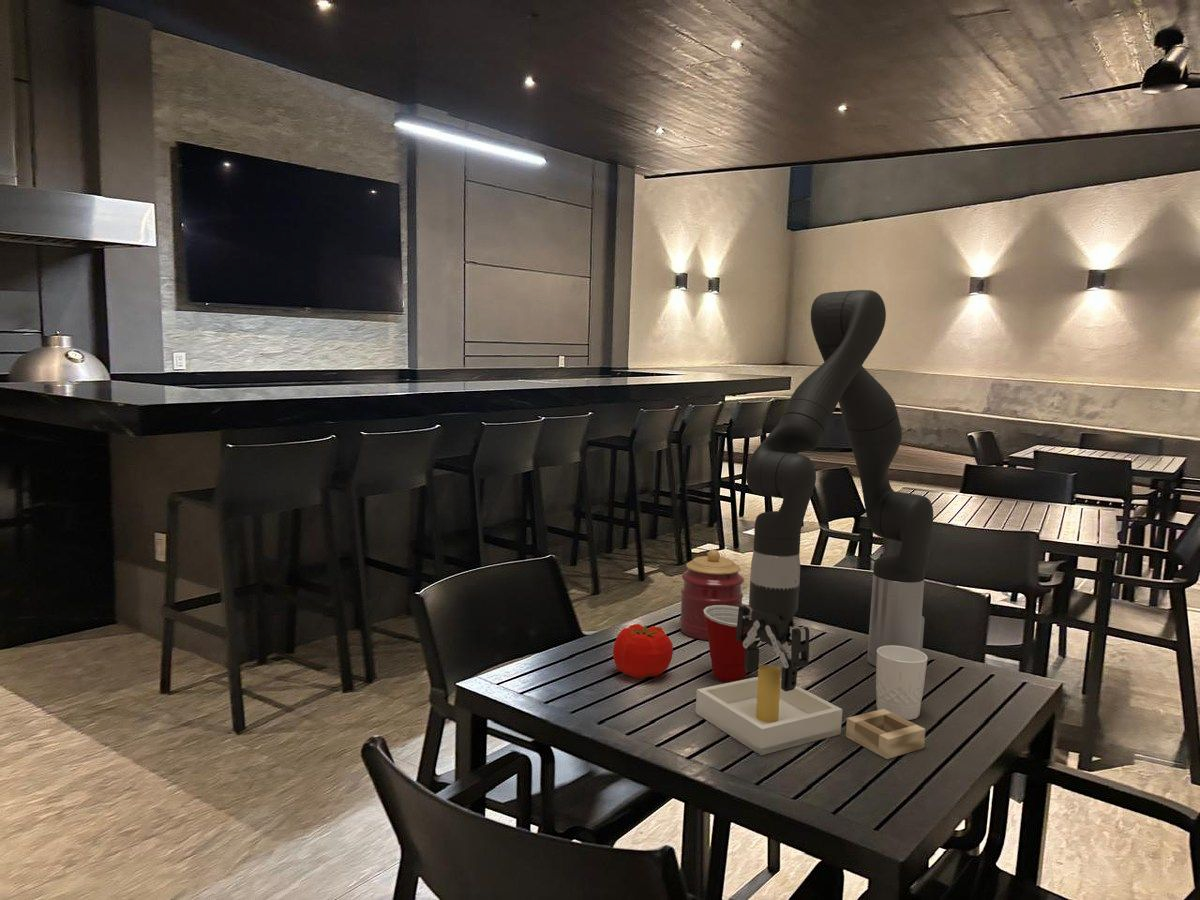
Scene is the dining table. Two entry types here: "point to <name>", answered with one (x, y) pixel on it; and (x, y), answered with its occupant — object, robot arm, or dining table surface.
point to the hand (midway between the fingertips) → (769, 680)
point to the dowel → (768, 693)
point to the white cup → (900, 680)
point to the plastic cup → (725, 643)
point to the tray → (795, 726)
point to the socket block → (885, 733)
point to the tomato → (642, 651)
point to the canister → (708, 591)
